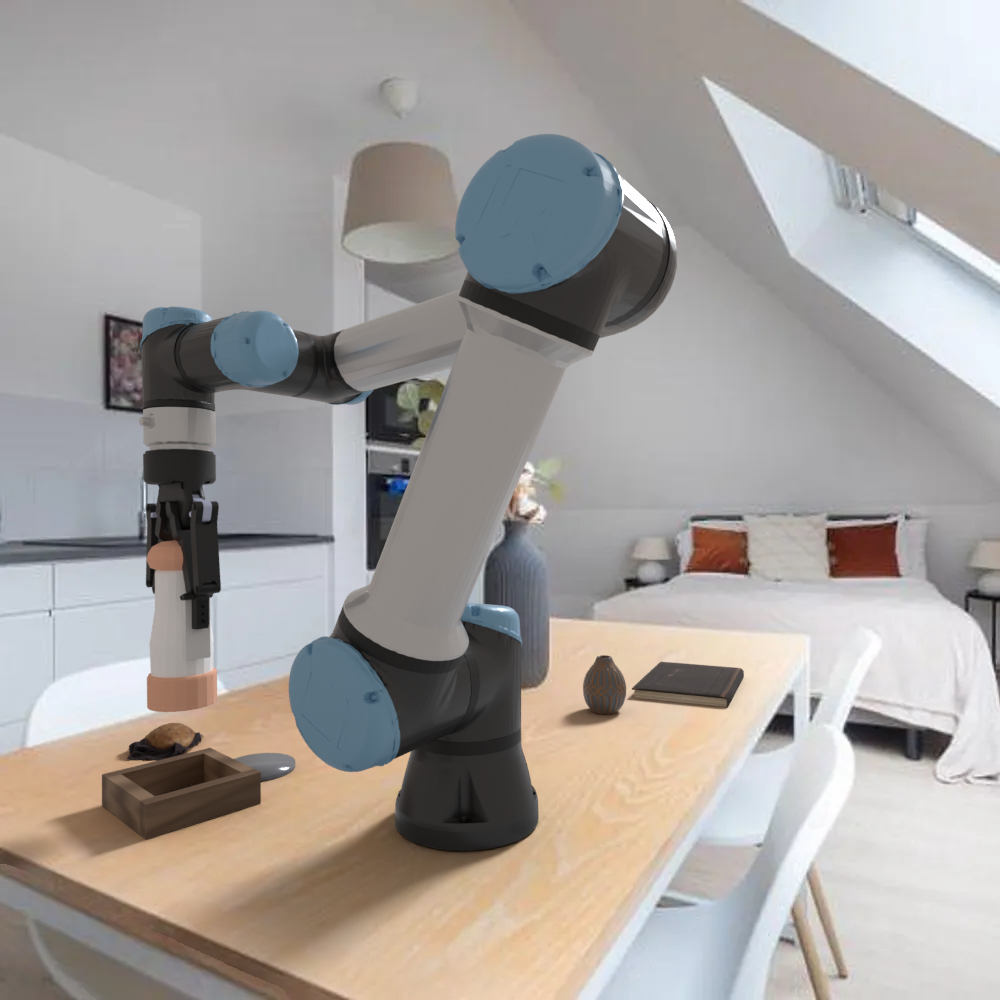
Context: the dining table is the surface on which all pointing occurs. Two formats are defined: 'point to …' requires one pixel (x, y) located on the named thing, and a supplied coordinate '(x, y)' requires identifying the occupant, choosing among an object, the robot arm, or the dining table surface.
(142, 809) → the walnut frame
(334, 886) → the dining table surface
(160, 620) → the pepper shaker
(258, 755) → the slate coaster
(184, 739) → the brown and black lump
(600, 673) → the vase
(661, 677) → the hardcover book
